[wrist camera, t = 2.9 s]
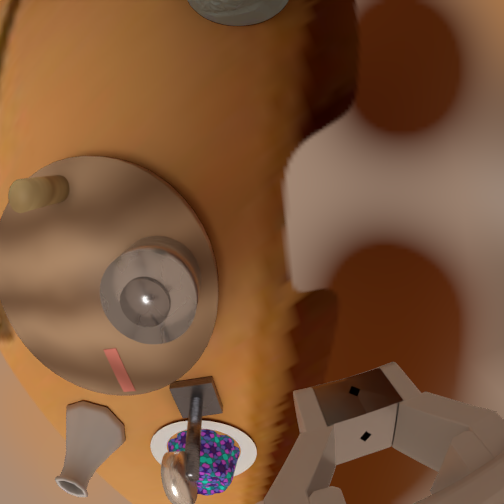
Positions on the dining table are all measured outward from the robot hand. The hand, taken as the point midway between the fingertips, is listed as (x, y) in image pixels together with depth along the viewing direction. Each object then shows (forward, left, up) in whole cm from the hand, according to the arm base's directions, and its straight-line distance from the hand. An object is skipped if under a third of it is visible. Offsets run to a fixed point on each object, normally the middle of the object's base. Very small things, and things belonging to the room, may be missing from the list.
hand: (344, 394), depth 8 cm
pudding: (+22, -11, -17) cm, 30 cm away
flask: (+16, -22, -17) cm, 32 cm away
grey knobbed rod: (+13, -9, -17) cm, 23 cm away
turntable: (0, -14, -17) cm, 22 cm away
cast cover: (0, -8, -14) cm, 16 cm away
